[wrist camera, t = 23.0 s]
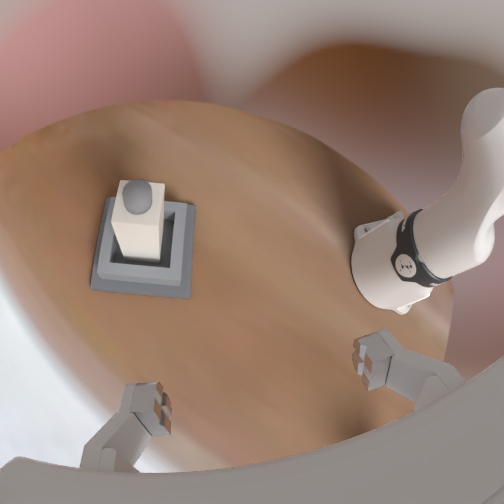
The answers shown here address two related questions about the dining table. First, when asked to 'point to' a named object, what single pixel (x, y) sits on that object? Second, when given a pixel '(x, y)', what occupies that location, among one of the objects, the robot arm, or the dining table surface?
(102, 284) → the socket dock
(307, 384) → the dining table surface
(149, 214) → the spigot peg
